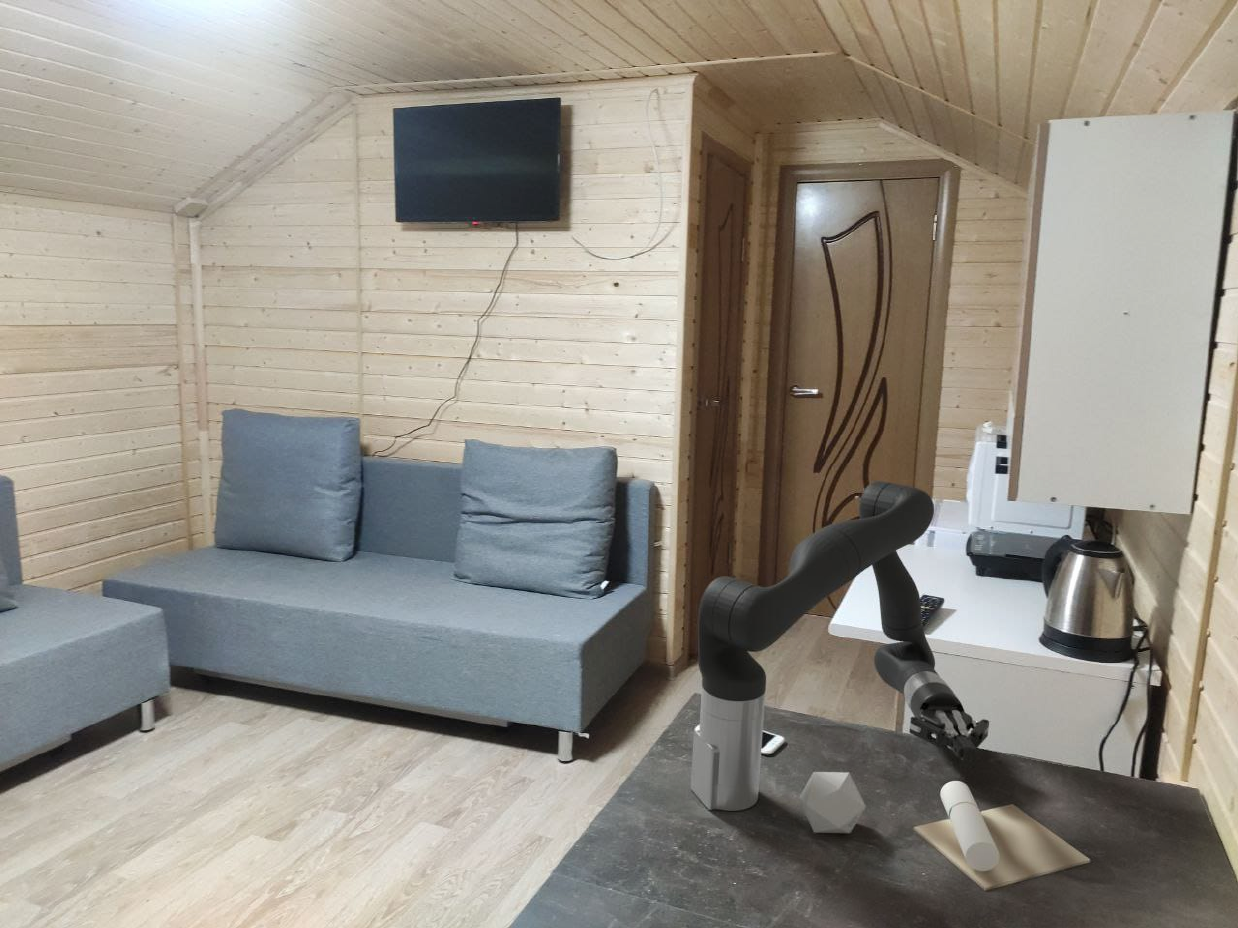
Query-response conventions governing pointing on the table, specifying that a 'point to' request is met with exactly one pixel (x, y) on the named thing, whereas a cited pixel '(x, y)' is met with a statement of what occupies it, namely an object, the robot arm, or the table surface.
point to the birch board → (1007, 847)
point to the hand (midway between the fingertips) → (968, 755)
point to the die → (832, 802)
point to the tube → (969, 826)
